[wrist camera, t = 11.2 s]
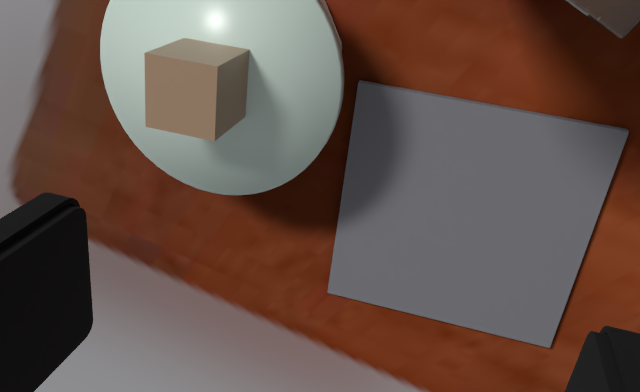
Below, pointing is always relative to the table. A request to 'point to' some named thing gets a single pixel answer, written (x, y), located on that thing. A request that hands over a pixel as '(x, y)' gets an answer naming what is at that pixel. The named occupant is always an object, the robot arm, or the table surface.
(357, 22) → the table surface
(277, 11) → the lid
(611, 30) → the coffee box
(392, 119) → the mat
